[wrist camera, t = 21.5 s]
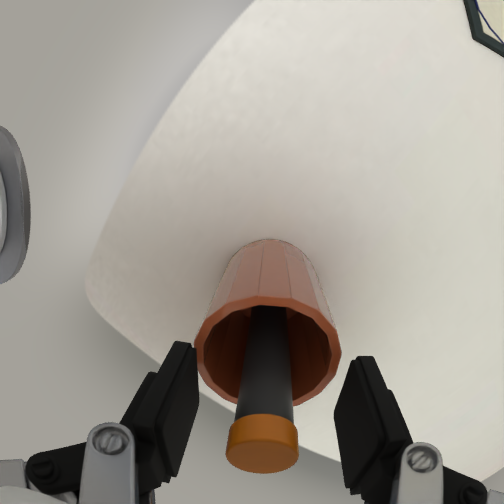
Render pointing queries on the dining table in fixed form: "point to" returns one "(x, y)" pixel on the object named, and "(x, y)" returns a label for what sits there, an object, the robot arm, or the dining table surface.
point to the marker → (265, 398)
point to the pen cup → (271, 294)
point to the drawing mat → (487, 22)
